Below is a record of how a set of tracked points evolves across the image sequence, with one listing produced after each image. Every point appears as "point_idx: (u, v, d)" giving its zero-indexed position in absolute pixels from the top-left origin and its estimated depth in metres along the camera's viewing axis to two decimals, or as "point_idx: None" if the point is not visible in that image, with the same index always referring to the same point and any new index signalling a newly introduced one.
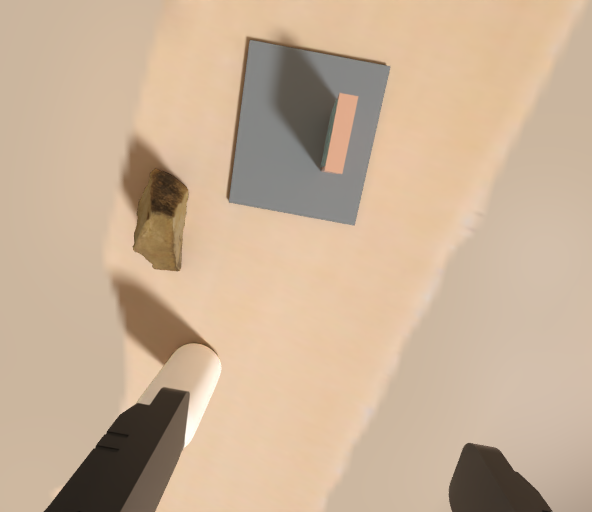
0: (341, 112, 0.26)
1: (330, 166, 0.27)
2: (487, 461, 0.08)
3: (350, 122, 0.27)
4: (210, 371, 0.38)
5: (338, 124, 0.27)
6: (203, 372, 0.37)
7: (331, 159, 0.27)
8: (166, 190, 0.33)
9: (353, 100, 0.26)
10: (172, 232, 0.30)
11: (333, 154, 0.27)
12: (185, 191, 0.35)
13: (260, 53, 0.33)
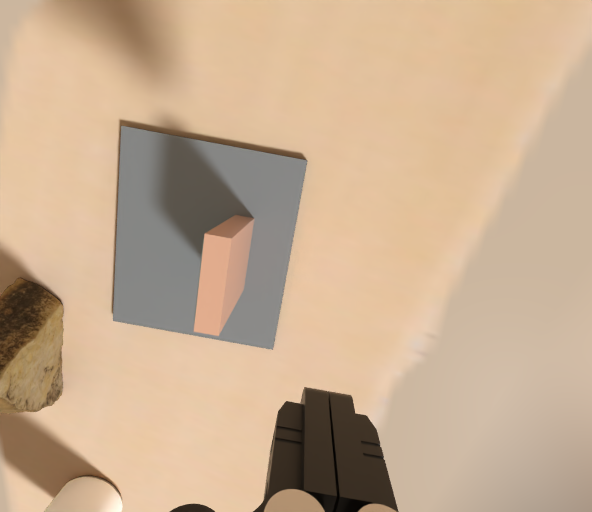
0: (209, 258, 0.19)
1: (201, 326, 0.20)
2: (333, 403, 0.10)
3: (223, 271, 0.19)
4: None
5: (207, 274, 0.19)
6: None
7: (201, 317, 0.19)
8: (13, 324, 0.25)
9: (225, 243, 0.18)
10: (1, 398, 0.22)
11: (203, 311, 0.19)
12: (53, 310, 0.28)
13: (136, 142, 0.25)
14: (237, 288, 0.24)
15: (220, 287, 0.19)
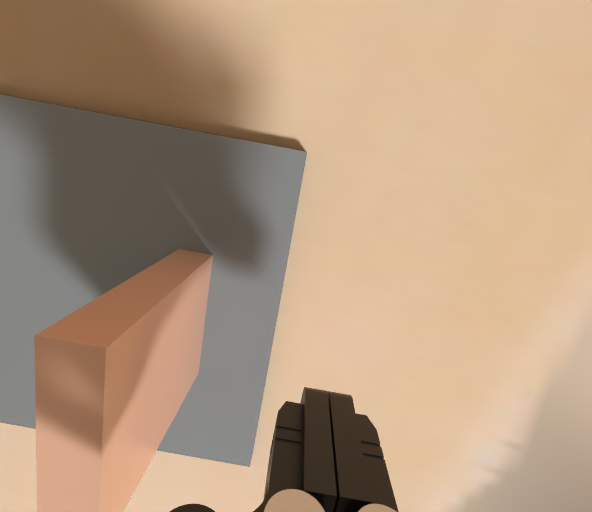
0: (55, 395, 0.07)
1: None
2: (333, 403, 0.10)
3: (94, 425, 0.07)
4: None
5: (53, 429, 0.07)
6: None
7: None
8: None
9: (90, 360, 0.07)
10: None
11: (56, 509, 0.08)
12: None
13: None
14: (173, 395, 0.12)
15: (90, 459, 0.08)
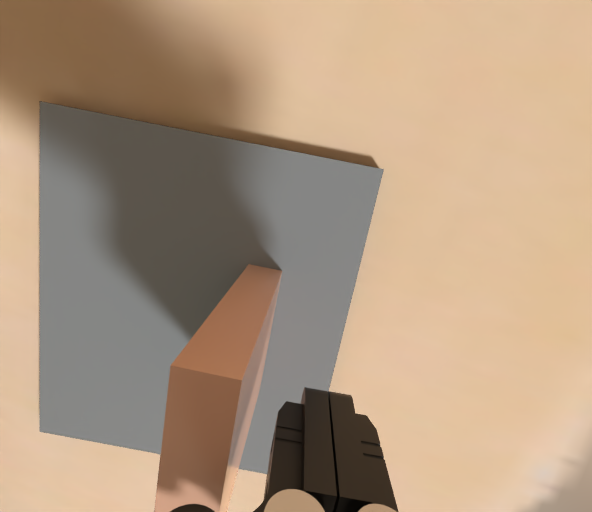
0: (184, 425, 0.07)
1: None
2: (333, 403, 0.10)
3: (219, 456, 0.07)
4: None
5: (177, 458, 0.07)
6: None
7: None
8: None
9: (224, 392, 0.07)
10: None
11: None
12: None
13: (69, 133, 0.14)
14: (250, 414, 0.12)
15: (211, 490, 0.08)
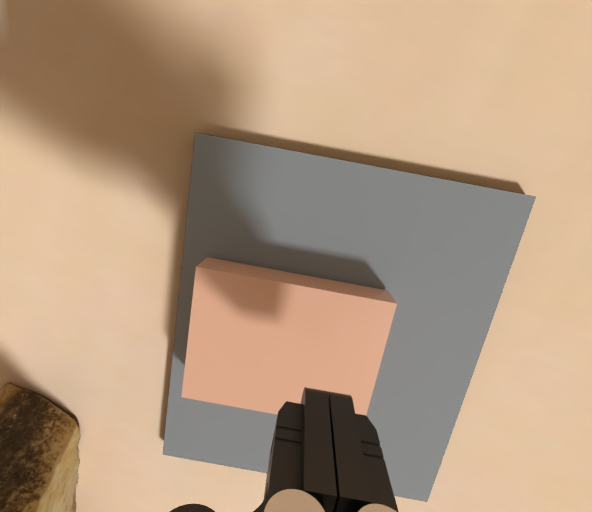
0: None
1: None
2: (333, 403, 0.10)
3: None
4: None
5: None
6: None
7: None
8: None
9: None
10: None
11: None
12: (65, 444, 0.16)
13: (221, 163, 0.14)
14: (290, 389, 0.14)
15: None
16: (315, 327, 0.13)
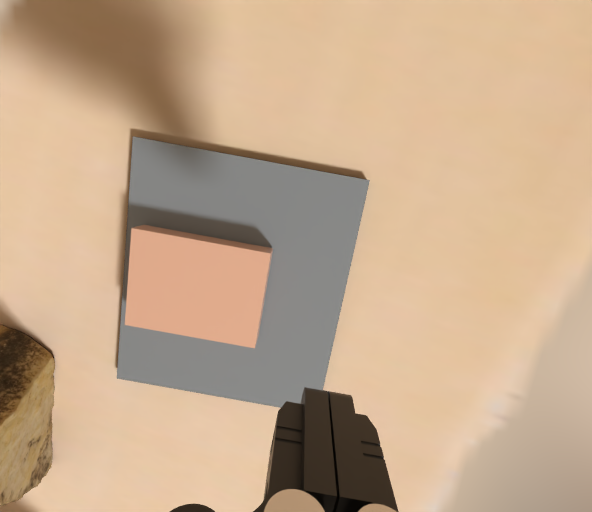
0: None
1: None
2: (333, 403, 0.10)
3: None
4: None
5: None
6: None
7: None
8: None
9: None
10: None
11: None
12: (42, 367, 0.22)
13: (152, 158, 0.20)
14: (201, 317, 0.20)
15: None
16: (216, 271, 0.19)
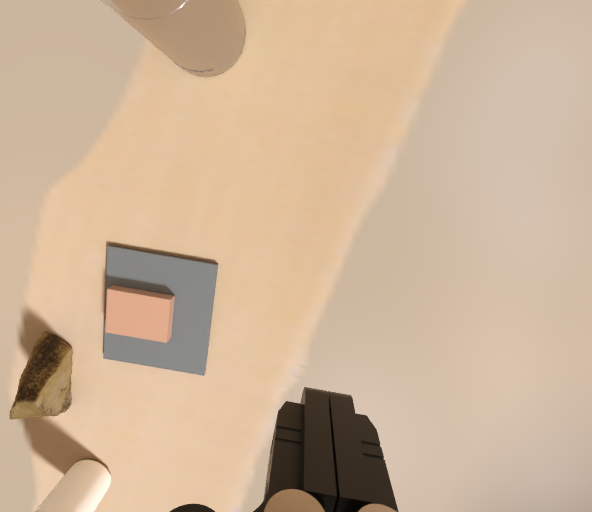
0: None
1: None
2: (333, 403, 0.10)
3: None
4: (94, 489, 0.47)
5: None
6: (84, 493, 0.46)
7: None
8: (43, 363, 0.42)
9: None
10: (38, 408, 0.39)
11: None
12: (66, 353, 0.45)
13: (116, 255, 0.42)
14: (140, 328, 0.43)
15: None
16: (146, 307, 0.42)
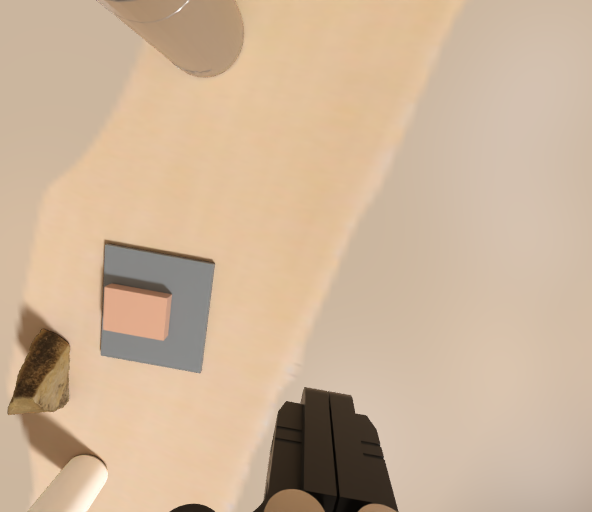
0: None
1: None
2: (333, 403, 0.10)
3: None
4: (90, 484, 0.48)
5: None
6: (81, 487, 0.47)
7: None
8: (41, 360, 0.42)
9: None
10: (36, 404, 0.39)
11: None
12: (64, 349, 0.45)
13: (114, 253, 0.43)
14: (138, 326, 0.43)
15: None
16: (143, 306, 0.42)
